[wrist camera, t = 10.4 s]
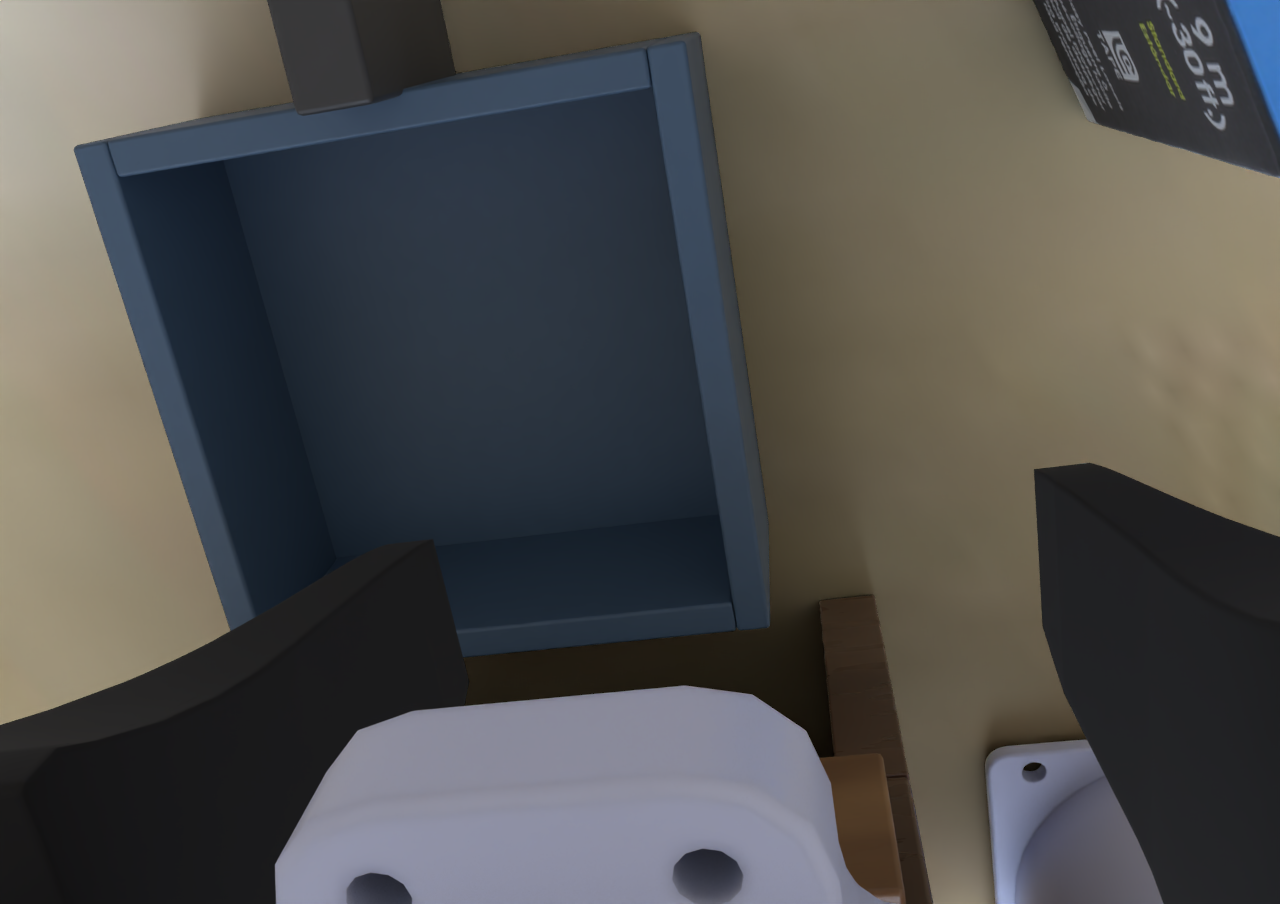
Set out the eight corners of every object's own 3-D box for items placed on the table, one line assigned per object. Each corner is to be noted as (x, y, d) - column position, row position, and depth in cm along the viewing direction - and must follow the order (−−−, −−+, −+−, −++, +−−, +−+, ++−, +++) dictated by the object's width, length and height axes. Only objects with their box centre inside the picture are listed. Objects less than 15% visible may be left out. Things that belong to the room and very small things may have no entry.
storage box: (648, -341, 19) (602, -475, 14) (768, 523, 25) (771, 674, 19) (98, -218, 21) (-141, -296, 15) (326, 572, 26) (210, 726, 21)
